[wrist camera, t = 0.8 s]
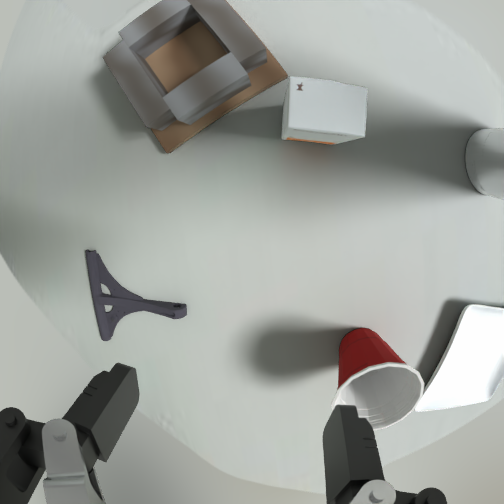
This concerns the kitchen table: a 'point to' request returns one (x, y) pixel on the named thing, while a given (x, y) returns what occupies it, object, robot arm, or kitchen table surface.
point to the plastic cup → (376, 380)
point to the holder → (190, 66)
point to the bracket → (121, 299)
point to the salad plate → (468, 361)
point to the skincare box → (323, 111)
